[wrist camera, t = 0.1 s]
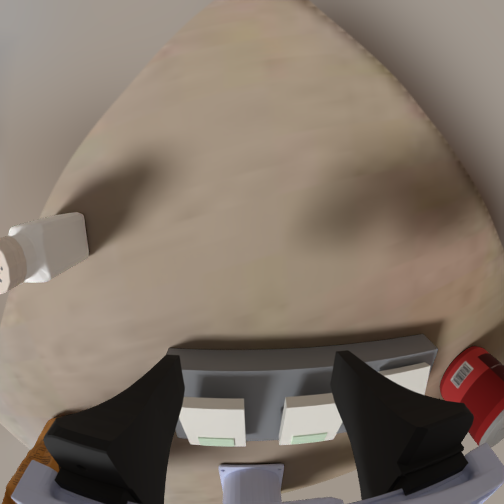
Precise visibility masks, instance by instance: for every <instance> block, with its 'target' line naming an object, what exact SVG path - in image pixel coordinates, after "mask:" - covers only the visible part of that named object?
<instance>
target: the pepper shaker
mask: <svg viewBox="0 0 504 504" xmlns="http://www.w3.org/2000/svg"><path fill="white" fill-rule="evenodd" d="M88 255H89V249H88V243H87V235H86V228H85V219H84V216H83V214H81V213H78V212H73V213H66V214H60V215H53V216H49V217H45V218H41V219H37V220H33V221H30V222H26V223H23V224H19V225H15V226H12V227H11V229H10V230H9V234H8V236H5V237H3V238H0V294H3V293H5V292H7V291H9V290H11V289H12V288H14V287H16V286H18V285H20V284H22V283H23V282H29V283H38V282H48V281H49V280H51V279H53V278H54V277H56V276H58V275H59V274H61V273H63V272H65V271H66V270H68V269H70V268H71V267H73V266H75V265H77V264H78V263H80V262H82V261H84V260H85V259H87V258H88Z"/></svg>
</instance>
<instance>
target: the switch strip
mask: <svg viewBox="0 0 504 504" xmlns="http://www.w3.org/2000/svg"><path fill="white" fill-rule="evenodd" d="M345 350H348V351H350V352H351V353H353V354H354V355H355V356H357V357H358V358H359V359H361V360H362V361H363V362H365V363H366V364H367V365H369V366H370V367H371V368H373V369H374V370H376V371H377V372H378V371H384V370H389V369H395V368H400V367H405V366H410V365H414V364H419V363H423V362H425V363H427V364H428V365H430V371H431V369H432V366H433V363H434V360H435V357H436V354H437V351H438V348H437V347H436V346H435V345H434V344H433V343H432V342H431V341H430V340H429V339H428V338H427V337H426V336H425V335H424V334H419V335H413V336H407V337H401V338H394V339H387V340H380V341H372V342H364V343H355V344H345V345H334V346H323V347H309V348H291V349H266V350H200V349H175V348H169V349H168V351H167V354H168V355H179V356H180V362H181V368H182V374H183V380H184V385H185V392H184V397H197V398H229V399H244V409H245V433H246V441H264V440H279V431H280V426H281V415H280V410H281V408H284V402H285V397H295V396H307V395H318V394H327V393H332V390H331V386H330V382H331V377H332V371H333V365H334V359H335V353H336V351H345ZM167 354H166V355H167ZM430 371H429V374H430ZM428 377H429V376H428ZM343 432H347V431H346V429H345V427H344V424H343V422H342V424H341V426H340V428H339V430H338V432H337V433H343ZM176 433H177V436H178V438H185V439H188V438H187V436H186V433H185V431H184V429H183V426H182V424H181V422H180V419H178V422H177V425H176ZM337 433H336V434H337Z"/></svg>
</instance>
